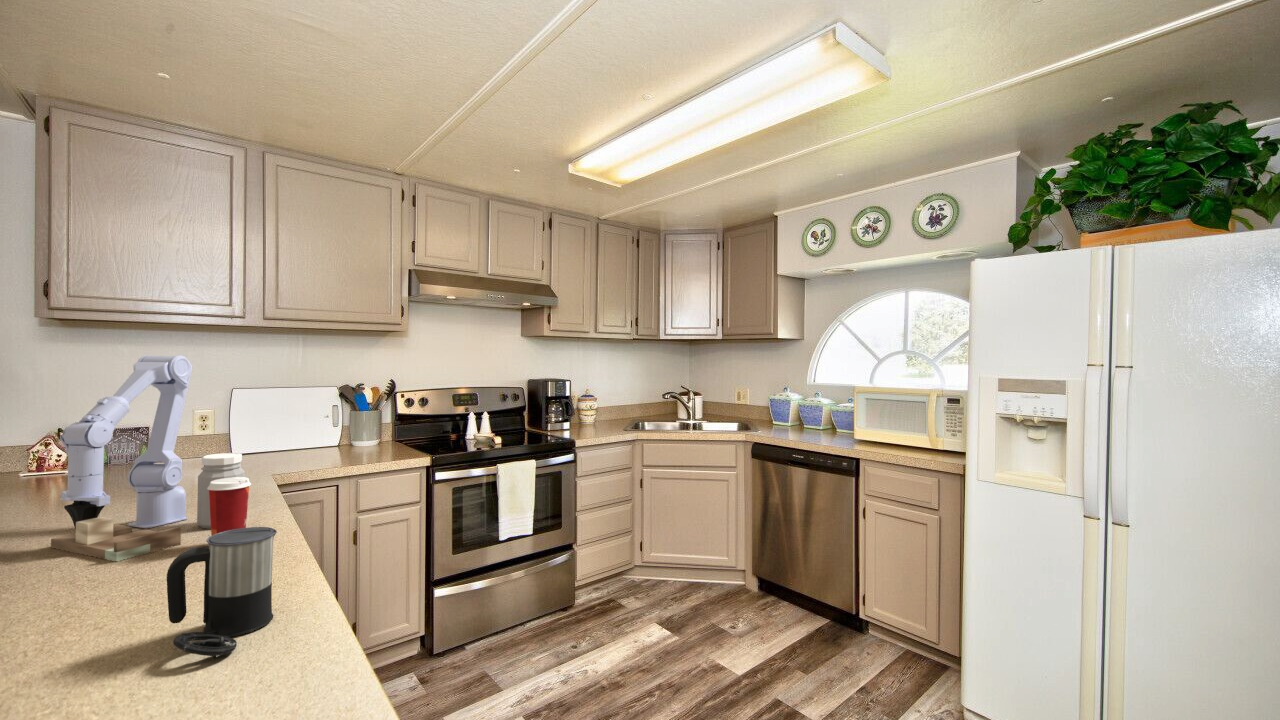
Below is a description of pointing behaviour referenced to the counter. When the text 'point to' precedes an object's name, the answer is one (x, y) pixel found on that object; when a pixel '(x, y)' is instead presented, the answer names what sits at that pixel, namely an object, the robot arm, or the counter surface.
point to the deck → (122, 543)
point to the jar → (213, 470)
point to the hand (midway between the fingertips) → (84, 534)
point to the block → (94, 530)
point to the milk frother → (225, 589)
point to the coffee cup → (228, 503)
